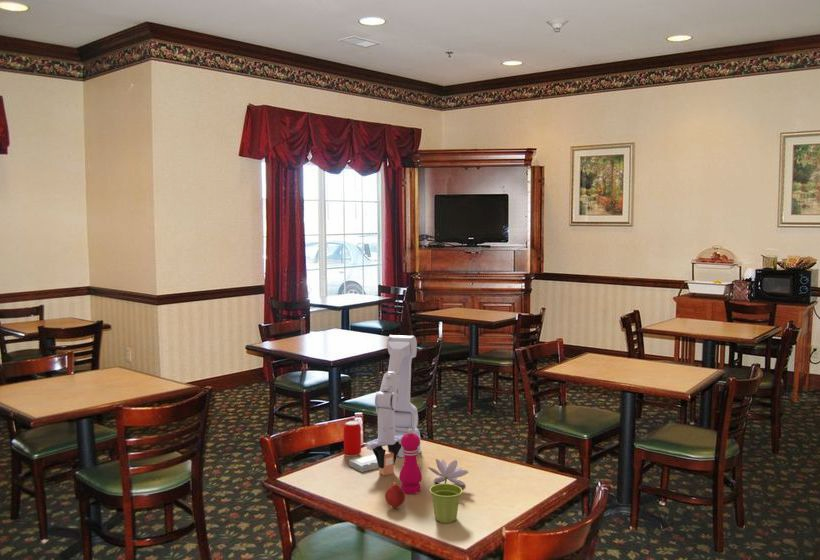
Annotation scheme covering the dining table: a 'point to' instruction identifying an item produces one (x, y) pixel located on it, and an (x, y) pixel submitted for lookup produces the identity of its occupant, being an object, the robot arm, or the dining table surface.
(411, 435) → the pepper mill
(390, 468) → the stub tab
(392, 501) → the onion
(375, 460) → the pad
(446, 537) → the dining table surface
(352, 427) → the beverage can
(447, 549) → the dining table surface
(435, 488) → the plant pot
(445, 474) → the water lily
